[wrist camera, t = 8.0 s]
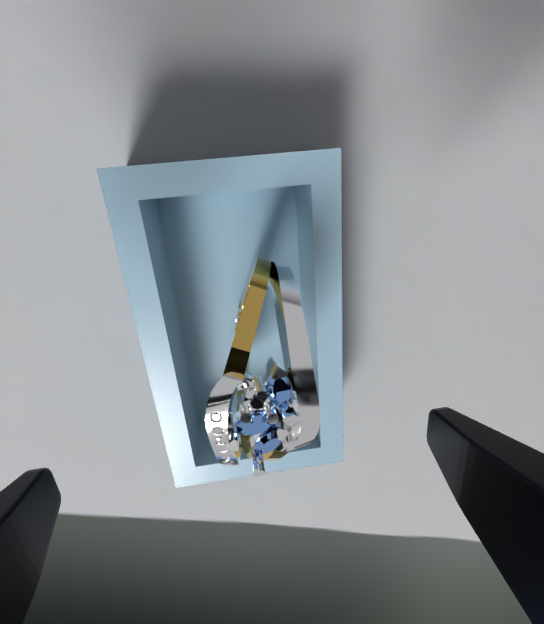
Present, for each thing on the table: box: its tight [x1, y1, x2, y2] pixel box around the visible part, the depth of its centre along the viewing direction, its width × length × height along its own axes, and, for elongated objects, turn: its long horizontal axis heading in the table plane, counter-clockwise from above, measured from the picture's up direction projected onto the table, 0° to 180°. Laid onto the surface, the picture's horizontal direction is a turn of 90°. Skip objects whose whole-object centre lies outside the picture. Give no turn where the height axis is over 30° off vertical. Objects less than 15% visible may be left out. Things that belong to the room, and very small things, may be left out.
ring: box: [205, 257, 320, 476], centre depth 13 cm, size 7×3×8 cm, turn 164°
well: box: [97, 148, 343, 488], centre depth 15 cm, size 8×13×4 cm, turn 5°
